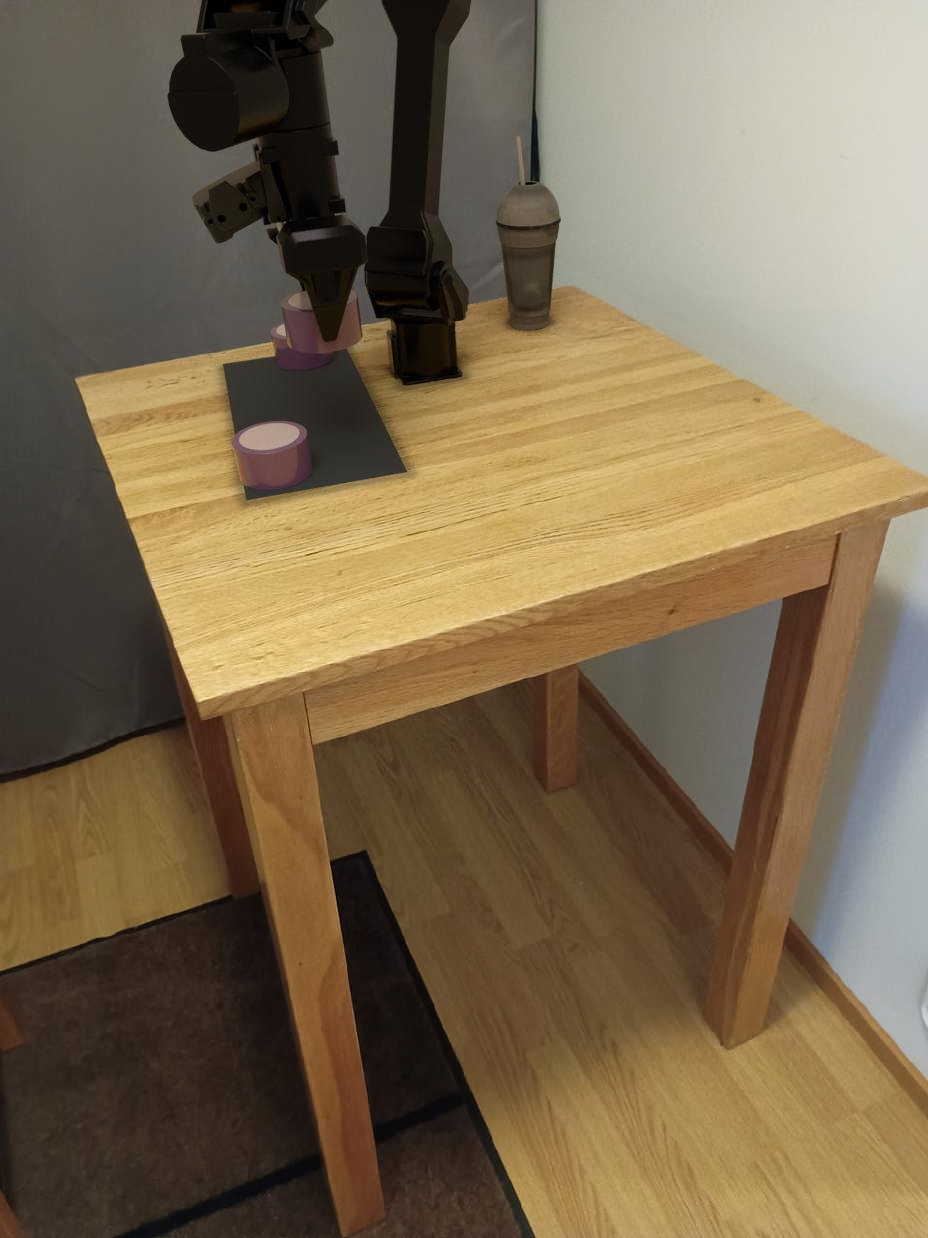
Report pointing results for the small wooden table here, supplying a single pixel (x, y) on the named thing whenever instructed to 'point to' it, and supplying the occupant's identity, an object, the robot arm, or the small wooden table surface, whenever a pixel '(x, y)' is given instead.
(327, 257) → the robot arm
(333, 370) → the placemat
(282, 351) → the short purple cylinder
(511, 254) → the beverage cup
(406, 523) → the small wooden table surface
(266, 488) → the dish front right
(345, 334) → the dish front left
